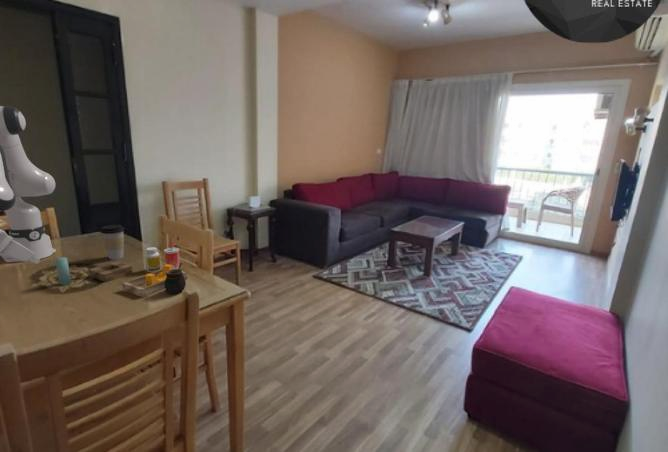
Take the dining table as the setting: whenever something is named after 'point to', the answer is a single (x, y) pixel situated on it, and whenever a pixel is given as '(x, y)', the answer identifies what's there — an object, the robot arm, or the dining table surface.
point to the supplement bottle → (152, 259)
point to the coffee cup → (113, 240)
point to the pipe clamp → (161, 276)
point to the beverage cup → (172, 256)
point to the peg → (63, 271)
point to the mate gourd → (174, 281)
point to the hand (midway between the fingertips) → (31, 259)
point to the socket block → (110, 271)
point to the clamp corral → (134, 284)
